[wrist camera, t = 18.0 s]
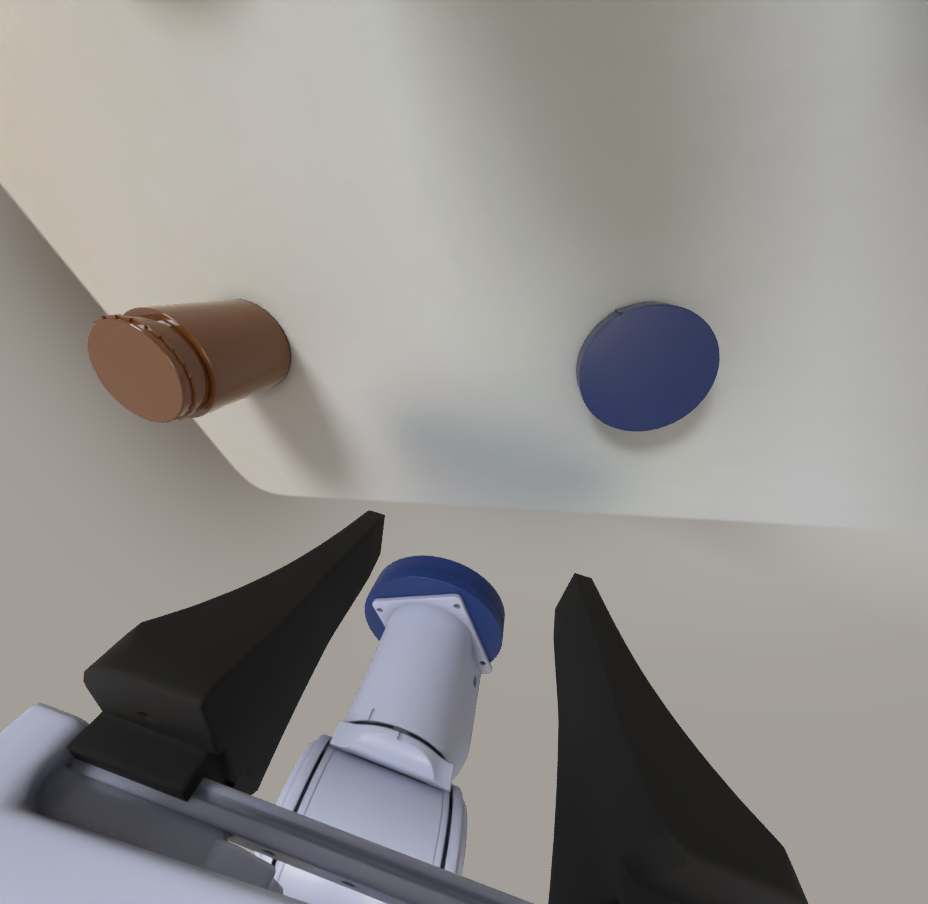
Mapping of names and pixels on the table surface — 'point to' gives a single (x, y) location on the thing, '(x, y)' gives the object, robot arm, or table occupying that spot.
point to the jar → (187, 357)
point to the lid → (647, 366)
